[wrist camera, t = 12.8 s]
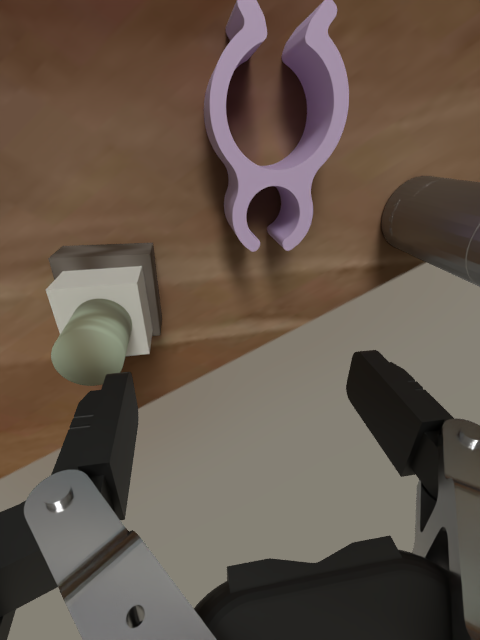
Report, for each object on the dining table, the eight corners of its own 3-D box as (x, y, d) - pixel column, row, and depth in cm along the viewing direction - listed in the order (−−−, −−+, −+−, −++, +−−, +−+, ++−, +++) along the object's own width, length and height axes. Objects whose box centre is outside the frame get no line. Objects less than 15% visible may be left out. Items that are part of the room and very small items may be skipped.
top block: (142, 266, 35) (137, 283, 30) (152, 330, 38) (149, 353, 34) (62, 271, 33) (45, 289, 29) (81, 337, 37) (69, 362, 33)
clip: (304, 234, 41) (326, 249, 35) (206, 236, 39) (211, 252, 33) (328, 29, 32) (364, 2, 26) (201, 17, 30) (207, -15, 24)
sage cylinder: (128, 297, 31) (118, 327, 26) (135, 345, 33) (128, 382, 28) (66, 299, 30) (43, 332, 25) (78, 349, 32) (60, 388, 27)
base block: (152, 242, 38) (150, 254, 34) (162, 316, 43) (160, 335, 39) (63, 245, 37) (48, 258, 33) (83, 321, 42) (72, 342, 37)
